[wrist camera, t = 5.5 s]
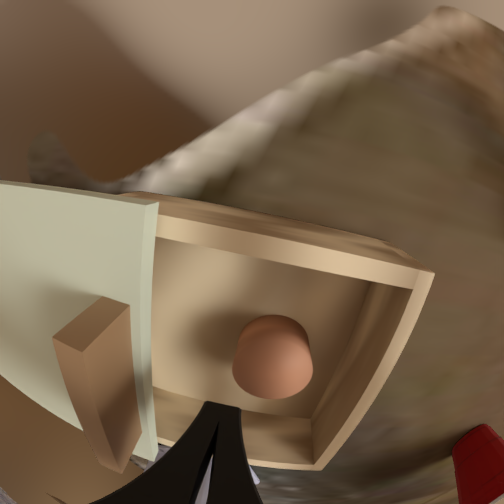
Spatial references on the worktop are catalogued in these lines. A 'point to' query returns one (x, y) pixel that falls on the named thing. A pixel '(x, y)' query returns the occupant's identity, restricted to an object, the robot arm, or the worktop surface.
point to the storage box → (274, 326)
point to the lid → (81, 311)
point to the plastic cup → (479, 466)
